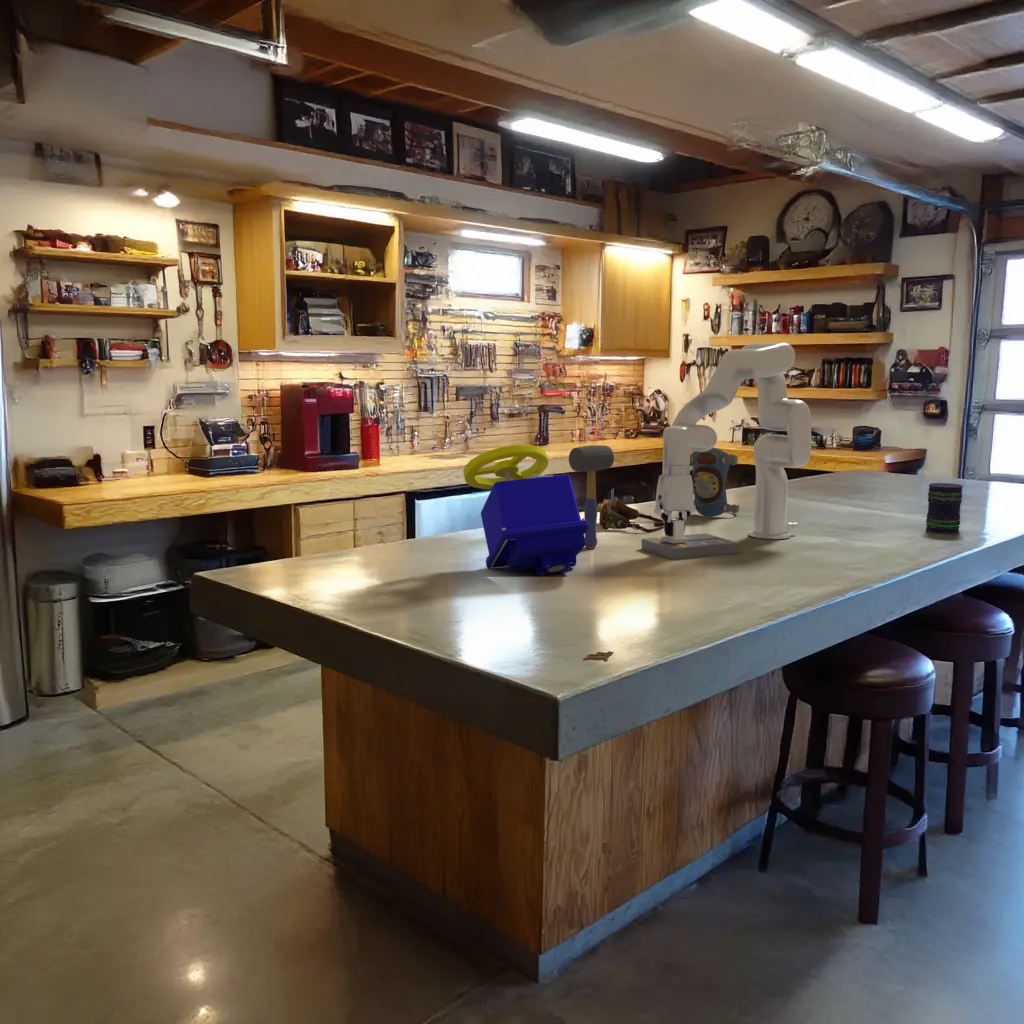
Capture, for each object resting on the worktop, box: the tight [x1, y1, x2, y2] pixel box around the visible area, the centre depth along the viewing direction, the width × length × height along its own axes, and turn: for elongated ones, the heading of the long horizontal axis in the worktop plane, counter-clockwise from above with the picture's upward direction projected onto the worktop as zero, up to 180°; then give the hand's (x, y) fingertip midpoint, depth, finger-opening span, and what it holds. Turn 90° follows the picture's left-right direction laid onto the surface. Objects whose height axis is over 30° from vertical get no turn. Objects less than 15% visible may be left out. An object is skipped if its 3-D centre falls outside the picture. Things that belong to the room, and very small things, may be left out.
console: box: [641, 532, 739, 560], centre depth 256 cm, size 22×16×3 cm
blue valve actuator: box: [462, 444, 589, 577], centre depth 228 cm, size 26×27×30 cm
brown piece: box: [582, 650, 614, 662], centre depth 171 cm, size 24×5×1 cm, turn 161°
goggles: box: [597, 496, 665, 534], centre depth 295 cm, size 24×24×10 cm
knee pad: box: [690, 447, 740, 518], centre depth 318 cm, size 18×20×25 cm
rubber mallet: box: [568, 444, 615, 550], centre depth 258 cm, size 12×8×30 cm, turn 127°
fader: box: [660, 518, 688, 544], centre depth 253 cm, size 5×6×6 cm
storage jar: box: [925, 482, 964, 535], centre depth 285 cm, size 10×10×15 cm
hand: (674, 534), depth 253 cm, fingers closed on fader, 3 cm apart
